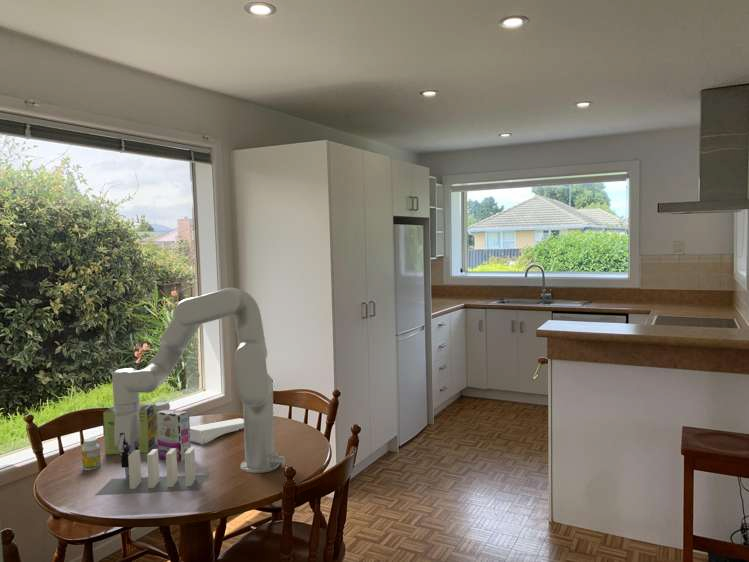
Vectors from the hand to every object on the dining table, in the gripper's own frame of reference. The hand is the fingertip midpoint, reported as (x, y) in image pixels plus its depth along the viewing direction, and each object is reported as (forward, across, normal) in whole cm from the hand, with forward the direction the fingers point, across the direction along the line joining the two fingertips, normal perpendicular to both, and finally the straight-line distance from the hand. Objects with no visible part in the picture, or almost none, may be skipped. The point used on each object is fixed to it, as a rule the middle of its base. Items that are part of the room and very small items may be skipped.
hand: (130, 463), depth 181 cm
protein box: (+4, -26, -9) cm, 28 cm away
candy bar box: (+4, -13, +10) cm, 17 cm away
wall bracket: (+5, -40, +20) cm, 45 cm away
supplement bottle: (+4, -8, -16) cm, 18 cm away
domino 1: (+3, +10, +5) cm, 12 cm away
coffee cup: (+4, -43, -5) cm, 44 cm away
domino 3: (+4, +10, +16) cm, 19 cm away
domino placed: (+3, 0, 0) cm, 3 cm away
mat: (+4, +10, +11) cm, 15 cm away
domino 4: (+4, +10, +22) cm, 24 cm away
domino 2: (+3, +10, +11) cm, 15 cm away
